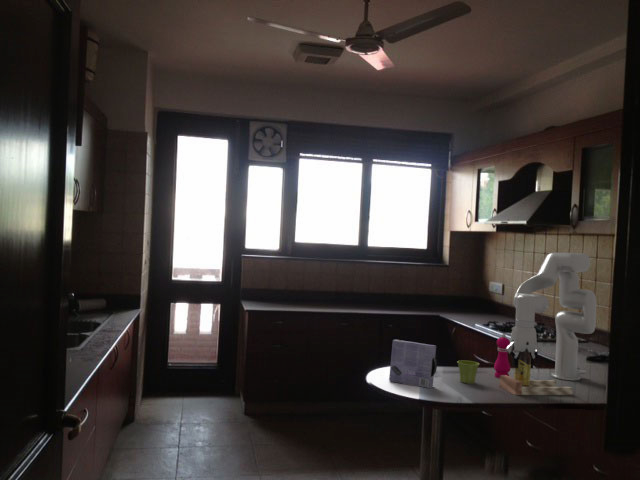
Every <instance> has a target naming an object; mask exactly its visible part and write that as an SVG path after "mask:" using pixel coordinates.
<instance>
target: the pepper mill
mask: <svg viewBox="0 0 640 480" xmlns="http://www.w3.org/2000/svg"><path fill="white" fill-rule="evenodd" d="M496 345H497V351H498V353H497V354H498V355H497V358H496V360H495V362H494V366H493V369H494V371H495V372H494V377H495V378H497V379H500V375H507V376H509V377H510V373H509V372H510V371H511V365H510V362H509V359H508V354H509V352H508V351H507V350H506V348H507V347H508V346H509V345H510V339H509V338H507V335H506V334H504V333H503V334H502V335H501V337H499V338H497V340H496Z"/></svg>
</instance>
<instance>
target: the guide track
mask: <svg viewBox="0 0 640 480" xmlns="http://www.w3.org/2000/svg"><path fill="white" fill-rule="evenodd" d="M556 384H557V381H556V380H550V379H549V380H548V379H547V380H546V379H545V380H543V379H538V380H537V379H536V380H535V379H530V384H529V387H522V382H520V381H518V380H516V379H514V377H511V376H510V375H509V376H507V375H500V378H499V388H501V389H502V390H505V391H506V392H508V393H510V394H513V395H515V396H517V395H518V396H523V395H524V396H540V395H541V396H572V395H573V387H572V386H557V385H556Z"/></svg>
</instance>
